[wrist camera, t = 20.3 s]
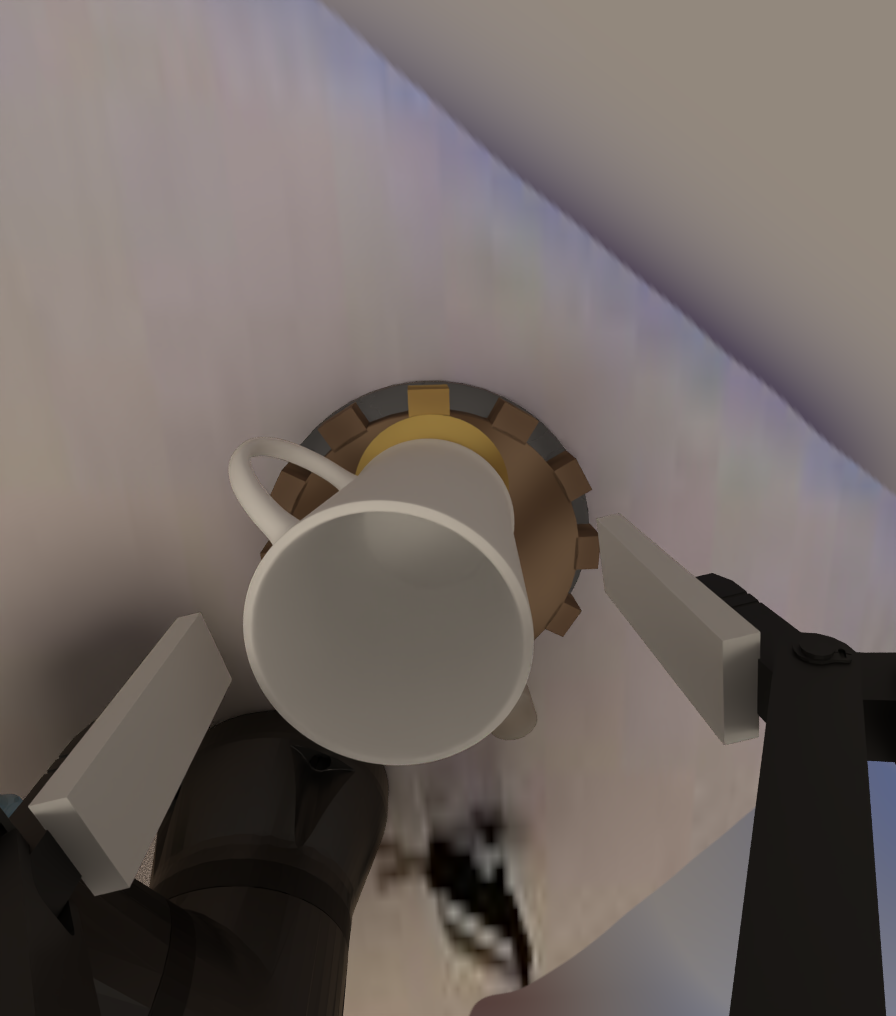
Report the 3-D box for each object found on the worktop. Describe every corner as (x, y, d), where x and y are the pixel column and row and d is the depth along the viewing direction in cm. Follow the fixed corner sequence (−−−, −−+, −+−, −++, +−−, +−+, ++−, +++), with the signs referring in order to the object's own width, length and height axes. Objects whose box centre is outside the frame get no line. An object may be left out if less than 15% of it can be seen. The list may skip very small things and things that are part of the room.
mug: (266, 476, 25) (78, 559, 13) (378, 351, 23) (273, 318, 11) (431, 628, 26) (393, 823, 15) (549, 523, 24) (612, 650, 13)
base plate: (328, 692, 33) (326, 700, 32) (224, 424, 26) (219, 427, 25) (599, 631, 32) (603, 638, 32) (563, 345, 26) (568, 346, 25)
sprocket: (199, 502, 26) (118, 570, 19) (492, 312, 24) (528, 307, 17) (389, 719, 32) (382, 833, 25) (637, 585, 30) (709, 669, 23)
